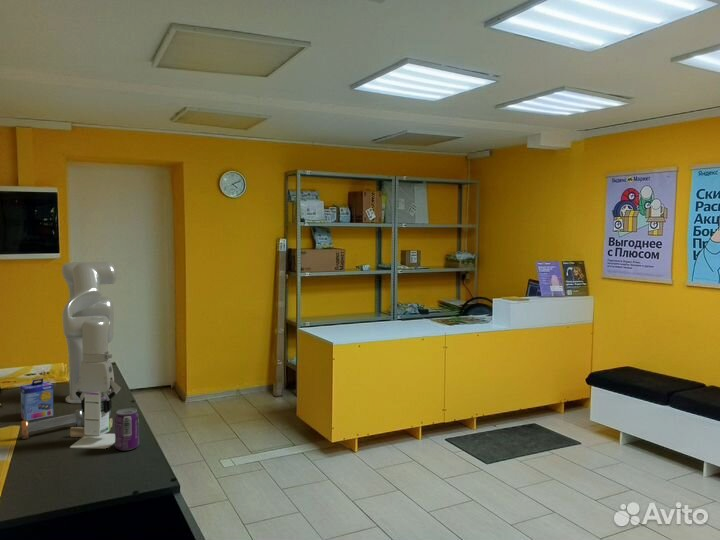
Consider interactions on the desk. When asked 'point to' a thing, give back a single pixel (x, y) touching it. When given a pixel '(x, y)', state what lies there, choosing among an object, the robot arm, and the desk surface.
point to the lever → (52, 423)
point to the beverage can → (126, 429)
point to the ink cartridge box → (36, 400)
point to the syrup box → (96, 414)
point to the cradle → (80, 430)
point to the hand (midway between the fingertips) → (96, 410)
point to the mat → (95, 441)
